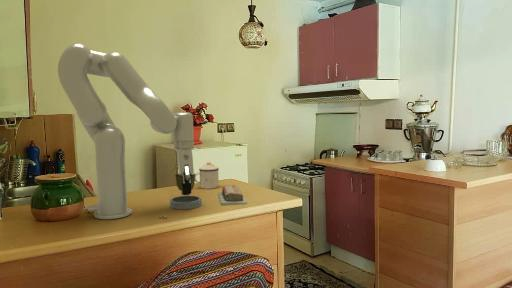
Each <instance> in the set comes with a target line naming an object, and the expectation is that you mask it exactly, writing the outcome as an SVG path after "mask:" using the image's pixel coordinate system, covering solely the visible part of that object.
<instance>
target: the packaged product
mask: <svg viewBox="0 0 512 288" xmlns="http://www.w3.org/2000/svg"><path fill="white" fill-rule="evenodd" d="M217 195H218V199H220V200H219V202H220V205H221V206H233V205H234V206H236V205H237V206H238V205H247V200H246V198H245V196H244V195H243V194H242V192H241V190H240V188H239V186H238V185H235V184H228V185H227V184H226V185H225V184H224V185H222V188H221V191H219V192H217Z"/></svg>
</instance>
